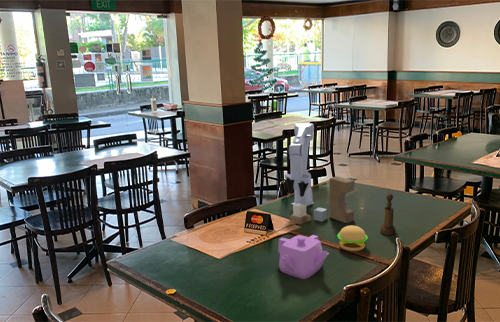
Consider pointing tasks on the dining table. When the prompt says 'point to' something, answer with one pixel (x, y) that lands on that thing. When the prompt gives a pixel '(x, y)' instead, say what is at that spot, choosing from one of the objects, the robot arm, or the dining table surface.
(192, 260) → the dining table surface
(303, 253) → the teakettle
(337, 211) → the decorative block
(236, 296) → the dining table surface
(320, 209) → the slate block
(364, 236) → the hamburger
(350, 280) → the dining table surface
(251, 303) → the dining table surface
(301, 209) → the cream block
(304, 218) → the walnut slab
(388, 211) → the brown wooden tall piece
